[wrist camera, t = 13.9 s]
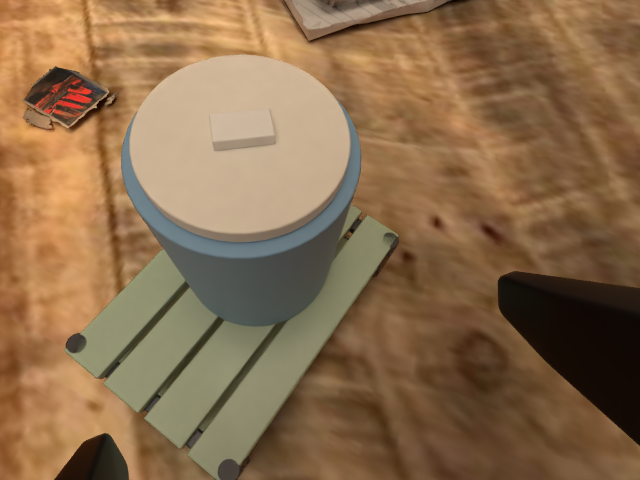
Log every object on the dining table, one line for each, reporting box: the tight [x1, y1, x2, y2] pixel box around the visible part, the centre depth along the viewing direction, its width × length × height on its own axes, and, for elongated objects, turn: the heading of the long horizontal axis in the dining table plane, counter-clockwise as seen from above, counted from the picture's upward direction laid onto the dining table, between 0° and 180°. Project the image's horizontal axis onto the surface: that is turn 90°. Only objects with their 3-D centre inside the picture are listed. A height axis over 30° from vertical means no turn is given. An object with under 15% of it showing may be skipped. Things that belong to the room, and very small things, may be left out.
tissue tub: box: [121, 55, 361, 326], centre depth 15 cm, size 7×7×9 cm
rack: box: [64, 204, 399, 480], centre depth 20 cm, size 9×13×4 cm
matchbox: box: [23, 66, 118, 129], centre depth 26 cm, size 5×5×1 cm
